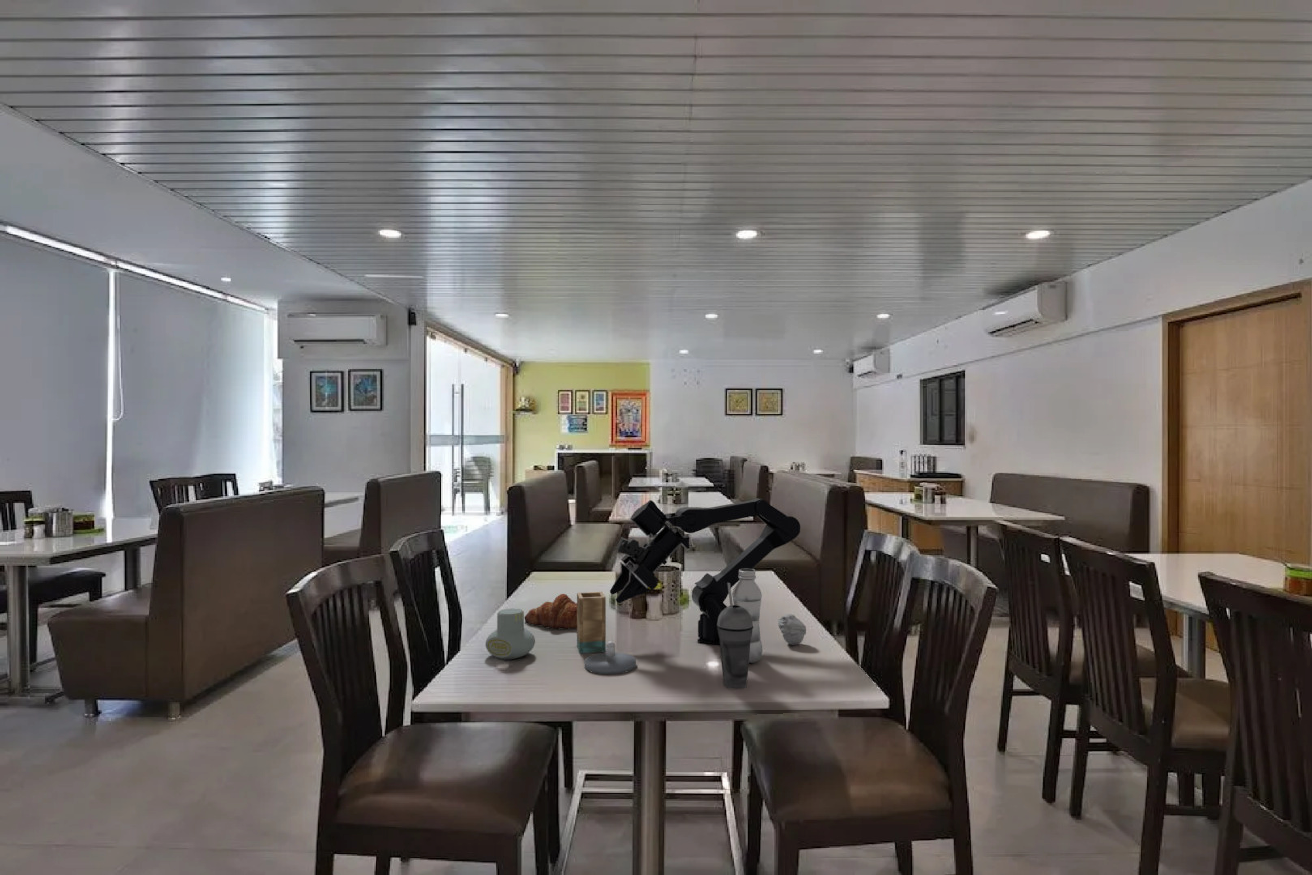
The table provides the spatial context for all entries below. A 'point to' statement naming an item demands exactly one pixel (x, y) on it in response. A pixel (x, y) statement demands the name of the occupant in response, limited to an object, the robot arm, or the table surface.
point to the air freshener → (510, 636)
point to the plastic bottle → (750, 608)
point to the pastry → (555, 614)
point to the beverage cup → (734, 644)
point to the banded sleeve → (591, 622)
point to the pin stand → (610, 661)
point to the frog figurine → (792, 629)
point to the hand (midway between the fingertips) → (613, 597)
